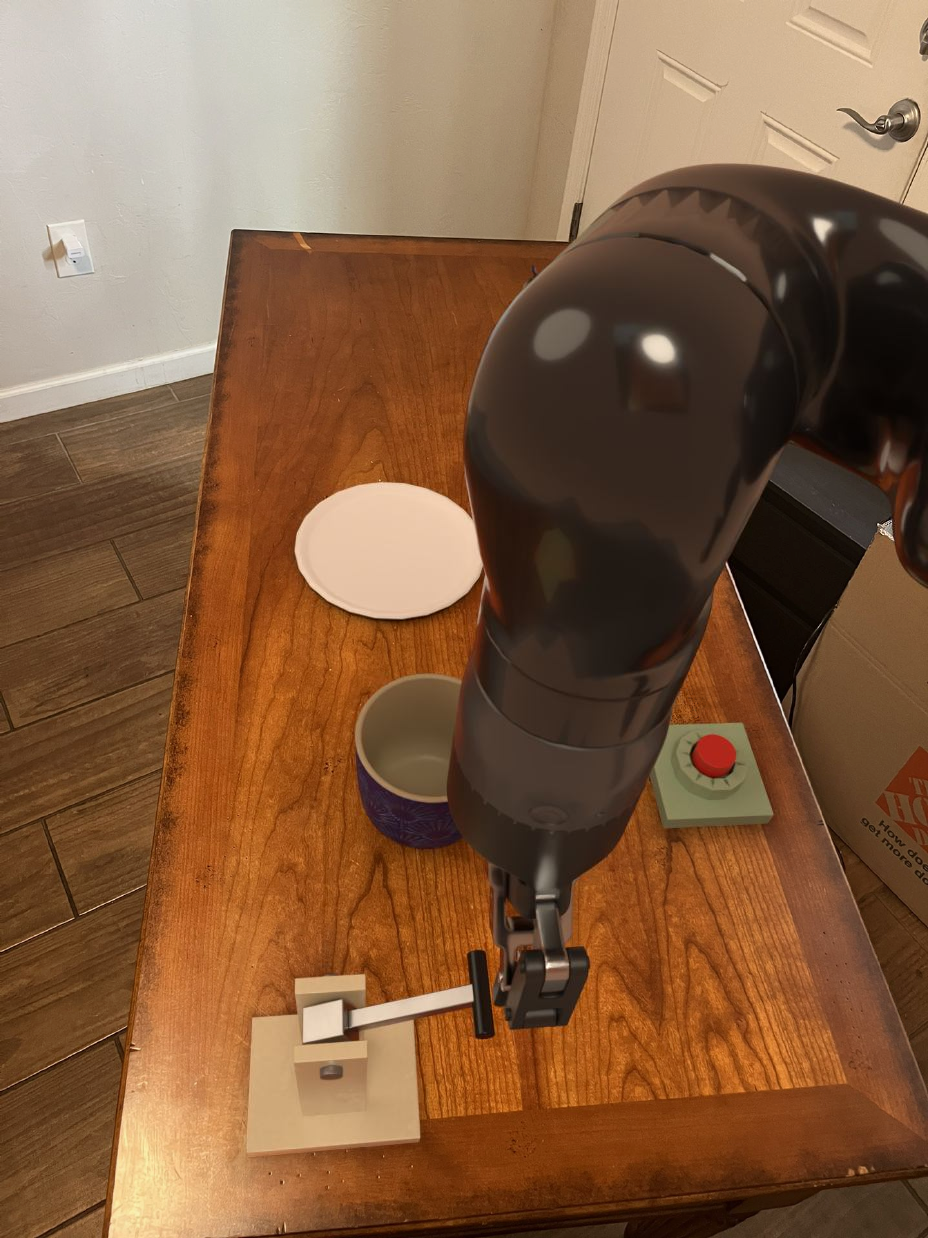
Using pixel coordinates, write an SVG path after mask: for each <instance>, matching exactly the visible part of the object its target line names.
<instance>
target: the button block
mask: <svg viewBox="0 0 928 1238" xmlns="http://www.w3.org/2000/svg"><path fill="white" fill-rule="evenodd" d="M710 734H715V735H719V736H722V737H724V738H726V739H727V740H729V741H730V742H731V743H732V745H733V746H734V748H735V750H736V760H735V762H734V764H733V765H732V767H731V769H730V770H729V772H728V773H727V774H726V775H724V776H722V777H718V778H713V777H709V776H706V775H704V774H702V773H701V772H700V771H699V770H698V769H697V768H696V767H695V765H694V763H693V760H692V754H693V751H694V749H695V747H696V745H697V743H698V741H699V740H700V739H701V738H702V737H704V736H706V735H710ZM750 743H751V742H750V740H749V737H748V734H747V731H746V727H745V725H744V723H743V722H719V723H716V722H715V723H713V722H712V723H684V724H670V725H669V729H668V733H667V737H666V740H665V743H664V745H663V748H662V750H661V753H660V755H659V757H658V759H657V762H656V764H655V766H654V768H653V770H652V772H651V775H650V777H649V779H650V782H651V786H652V790H653V795H654V799H655V802H656V807H657V811H658V814H659V815H658V816H659V820H660V822H661V827H662V829H680V828H681V829H682V828H702V827H723V826H724V827H725V826H741V825H742V826H745V825H746V826H747V825H748V826H749V825H768V824H769V822H770V821H771V820H772V818H773V817H774V816H775V814H774V811H773V809H772V805H771V801H770V799H769V797H768V794H767V790H766V788H765V785H764V781H763V777H762V775H761V772H760V770H759V767H758V764H757V761H756V758H755V755H754V751H753V749H752V746H751V744H750Z"/></svg>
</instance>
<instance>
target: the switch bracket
mask: <svg viewBox="0 0 928 1238" xmlns="http://www.w3.org/2000/svg"><path fill="white" fill-rule="evenodd" d="M366 980H367V979H366V974H365V973H359V974H343V975H342V974H341V975H339V974H336V973H335V974H334V973H330V974H325V975H322V976H313V977H312V976H310V977H297V978H295V979H294V997H295V1006H296V1013H297V1014H296V1013H295V1014H284V1015H283V1014H281V1015H268V1016H253V1017H252V1019H251V1034H250V1035H251V1036H250V1059H249V1063H250V1064H249V1078H248V1079H249V1080H248V1099H247V1122H246V1123H247V1124H246V1125H247V1126H246V1145H245V1154H246V1156H247V1157H248V1158H253V1157H254V1158H255V1157H256V1158H257V1157H266V1156H277V1155H278V1156H279V1155H287V1154H288V1155H291V1154H299V1153H300V1154H301V1153H313V1152H322V1151H324V1152H325V1151H334V1150H335V1151H336V1150H346V1149H357V1148H369V1147H379V1146H380V1147H381V1146H390V1145H402V1144H404V1145H405V1144H413V1143H420V1141H421V1123H420V1104H419V1089H418V1087H419V1086H418V1072H417V1071H418V1070H417V1069H418V1068H417V1054H416V1053H417V1051H416V1037H415V1035H416V1034H415V1020H410V1021H406V1022H401V1023H396V1024H392V1025H387V1026H382V1027H378V1028H373V1029H368V1030H363V1031H359V1041H350V1042H336V1043H322V1044H308V1045H304V1044H303V1043H302V1041H303V1008H304V1007H308V1006H313V1005H317V1004H322V1003H326V1002H331V1001H335V1000H340V999H344V1000H345V1001H347V1002H348V1003H350V1004H352V1005H353V1006H355V1007H356V1008H358V1009H359V1008H363V1007H366V1001H367V999H366V996H367V995H366V994H367V993H366V992H367V983H366V982H367V981H366Z"/></svg>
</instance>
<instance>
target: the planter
mask: <svg viewBox="0 0 928 1238" xmlns="http://www.w3.org/2000/svg"><path fill="white" fill-rule="evenodd" d="M461 683H462V679H460V678H458V677H455V676H451V675H447V674H441V673H416V674H410V675H406V676H403V677H399V678H397V679H394V680H392V681H390V682H388V683H387V684H385V685H383V686H381V687H379V689H377V690H376V691H375V692H374V693H373V694H372V695H371V696H370V697H369V698H368V699H367V701H366V702H365V704H364V705H363V706H362V708H361V710H360V712H359V714H358V717H357V720H356V723H355V729H354V748H355V750H354V751H355V764H356V765H355V766H356V777H357V787H358V791H359V792H358V793H359V796H360V800H361V804H362V806H363V809H364V811H365V813H366V815H367V817H368V818H369V820H370V822H371V823H372V825H373V826H374V827H375V828H376V829H377V830H378V831H379V832H380V833H381V834H382V835H383V836H385V837H386V838H388V839H389V840H391V841H392V842H394V843H396V844H399V845H401V846H403V847H407V848H411V849H416V850H436V849H440V848H444V847H447V846H451V845H453V844H455V843H457V842H459V841H461V840H462V839H464V838H463V836H462V835H461V833H460V832H459V830H458V829H457V827H456V825H455V823H454V820H453V818H452V815H451V813H450V809H449V805H448V800H447V777H448V770H449V763H450V756H451V749H452V742H453V735H454V728H455V720H456V713H457V706H458V699H459V693H460V688H461Z"/></svg>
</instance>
